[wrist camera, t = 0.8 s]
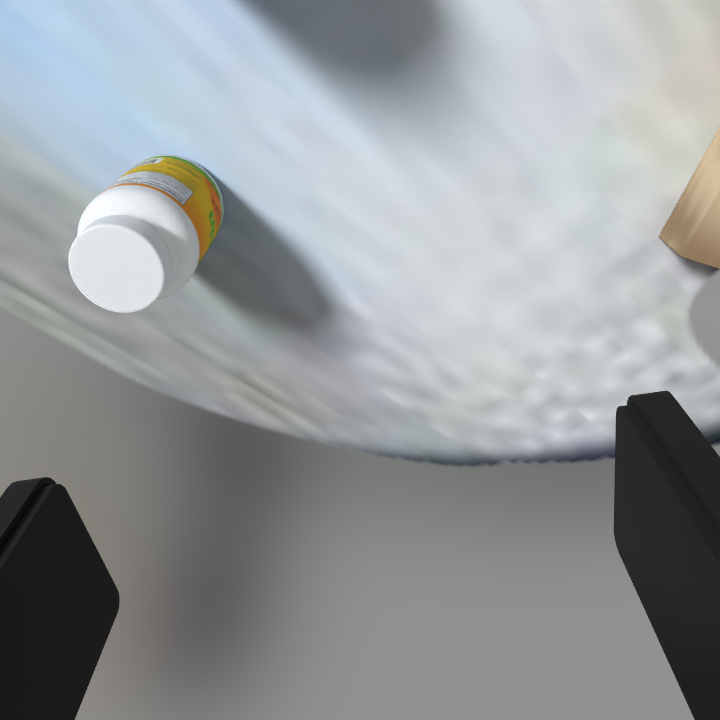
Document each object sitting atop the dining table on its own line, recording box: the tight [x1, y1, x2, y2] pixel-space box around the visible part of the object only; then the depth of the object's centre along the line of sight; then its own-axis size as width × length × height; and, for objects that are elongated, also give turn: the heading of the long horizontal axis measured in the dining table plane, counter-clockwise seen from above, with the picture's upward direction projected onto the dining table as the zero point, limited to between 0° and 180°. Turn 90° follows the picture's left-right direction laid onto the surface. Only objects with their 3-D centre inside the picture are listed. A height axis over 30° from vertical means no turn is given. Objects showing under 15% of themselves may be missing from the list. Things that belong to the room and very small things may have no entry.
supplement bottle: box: [69, 155, 224, 313], centre depth 31 cm, size 5×5×10 cm
